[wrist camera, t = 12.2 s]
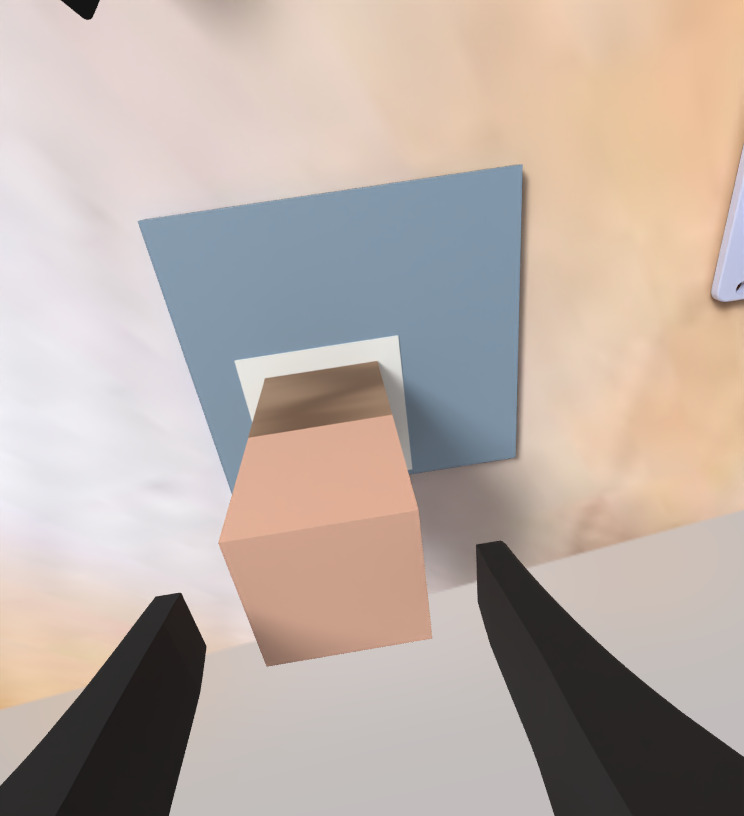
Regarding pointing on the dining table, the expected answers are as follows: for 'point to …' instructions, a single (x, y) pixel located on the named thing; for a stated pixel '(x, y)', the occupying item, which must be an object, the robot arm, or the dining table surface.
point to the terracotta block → (327, 542)
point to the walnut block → (320, 399)
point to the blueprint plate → (357, 306)
